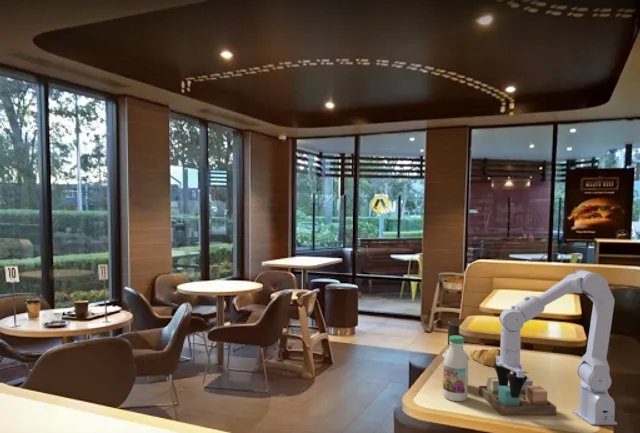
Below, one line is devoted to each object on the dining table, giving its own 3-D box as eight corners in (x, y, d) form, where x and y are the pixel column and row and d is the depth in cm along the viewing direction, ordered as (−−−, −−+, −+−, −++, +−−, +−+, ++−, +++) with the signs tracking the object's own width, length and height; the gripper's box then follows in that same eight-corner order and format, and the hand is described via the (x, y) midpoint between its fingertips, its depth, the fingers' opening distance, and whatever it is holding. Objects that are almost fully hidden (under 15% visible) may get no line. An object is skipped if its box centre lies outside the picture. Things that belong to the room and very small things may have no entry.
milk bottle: (448, 391, 158) (450, 332, 158) (470, 397, 153) (472, 336, 153) (438, 397, 152) (440, 336, 152) (461, 404, 147) (463, 341, 147)
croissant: (466, 367, 194) (461, 352, 191) (476, 352, 200) (472, 337, 197) (516, 380, 178) (512, 364, 176) (526, 363, 184) (522, 347, 182)
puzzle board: (556, 415, 141) (556, 393, 141) (501, 415, 140) (502, 393, 140) (527, 393, 158) (528, 374, 158) (478, 393, 157) (479, 373, 157)
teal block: (519, 409, 142) (519, 391, 142) (505, 409, 142) (505, 391, 142) (511, 403, 147) (512, 385, 147) (498, 403, 146) (498, 385, 146)
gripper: (487, 342, 151) (486, 383, 151) (508, 356, 137) (507, 402, 137) (508, 342, 151) (507, 383, 152) (531, 356, 137) (530, 401, 137)
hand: (509, 392), depth 144 cm, fingers open, 7 cm apart
